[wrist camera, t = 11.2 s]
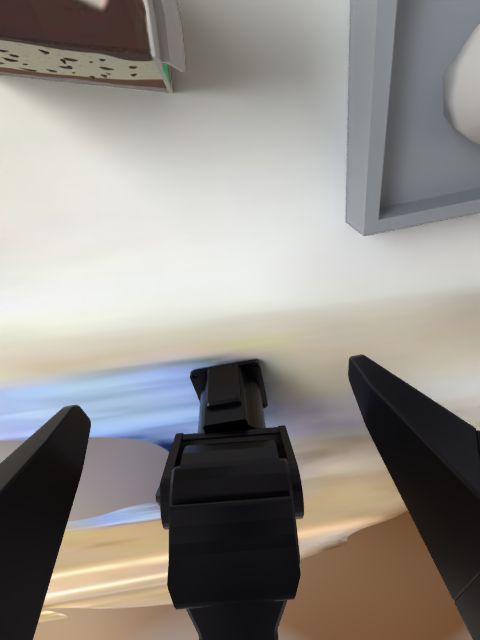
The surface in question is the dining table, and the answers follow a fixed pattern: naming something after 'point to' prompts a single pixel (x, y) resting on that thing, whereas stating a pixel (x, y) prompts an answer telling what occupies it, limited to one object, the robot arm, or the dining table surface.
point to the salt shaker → (464, 89)
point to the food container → (93, 41)
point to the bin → (406, 116)
